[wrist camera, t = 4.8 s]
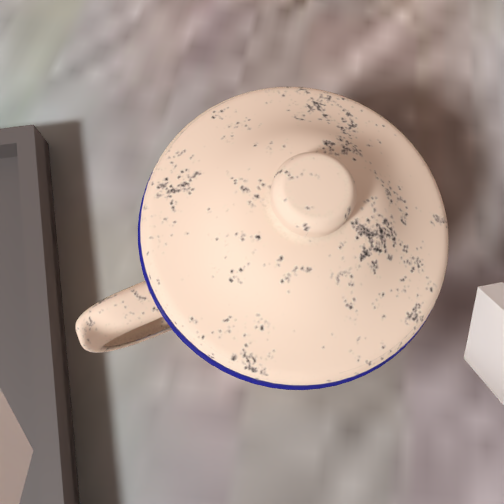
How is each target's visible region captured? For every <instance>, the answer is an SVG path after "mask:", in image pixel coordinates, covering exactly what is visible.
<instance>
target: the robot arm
mask: <svg viewBox="0 0 504 504" xmlns="http://www.w3.org/2000/svg"><path fill="white" fill-rule="evenodd" d="M464 359H465V360H466V362H467V363H468V364H469V365H470V366H471V367H472V369H473V370H474V371H475V372H476V373H477V375H478V376H479V377H480V378H481V379H482V380H483V382H484V383H485V384H486V385H487V386H488V388H489V389H490V390H491V391H492V392H493V394H494V395H495V396H496V397H497V398H498V399H499V401H500V402H501V403H502V404H503V405H504V283H503V282H500V283H495V284H490V285H484V286H479V287H478V289H477V294H476V299H475V304H474V309H473V314H472V319H471V324H470V329H469V334H468V339H467V344H466V349H465V354H464ZM32 454H33V449H32V447H31V445H30V443H29V441H28V439H27V438H26V436H25V434H24V432H23V430H22V428H21V426H20V424H19V423H18V421H17V419H16V417H15V415H14V413H13V411H12V409H11V408H10V406H9V404H8V402H7V400H6V398H5V396H4V395H3V393H2V391H1V389H0V504H19V503H20V499H21V495H22V491H23V488H24V484H25V480H26V476H27V472H28V469H29V465H30V461H31V457H32Z"/></svg>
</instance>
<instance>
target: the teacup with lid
mask: <svg viewBox="0 0 504 504" xmlns="http://www.w3.org/2000/svg"><path fill="white" fill-rule="evenodd" d="M138 247H139V255H140V262H141V266H142V270H143V275H144V278H145V281H144V282H141V283H139V284H136V285H134V286H131V287H129V288H127V289H124V290H122V291H120V292H117V293H115V294H113V295H111V296H109V297H107V298H105V299H103V300H101V301H99V302H98V303H96V304H94V305H93V306H91V307H90V308H88V309H87V310H86V311H85V312H83V313H82V314H81V315H80V317H79V318H78V320H77V322H76V333H77V336H78V338H79V341H80V344H81V345H82V347H83V348H84V349H85V350H87V351H89V352H96V353H98V352H107V351H112V350H116V349H120V348H124V347H127V346H131V345H134V344H137V343H140V342H142V341H145V340H148V339H150V338H153V337H156V336H158V335H160V334H163V333H165V332H168V331H170V330H173V331H174V332H175V333H176V335H177V336H178V337H179V338H180V339H181V340H182V341H183V342H184V343H185V344H186V345H187V346H188V347H189V348H190V349H192V350H193V351H194V352H195V353H196V354H197V355H199V356H200V357H201V358H203V359H204V360H206V361H207V362H208V363H210V364H211V365H213V366H215V367H217V368H218V369H220V370H222V371H223V372H226V373H228V374H230V375H232V376H234V377H237V378H239V379H242V380H245V381H248V382H250V383H253V384H257V385H262V386H266V387H270V388H278V389H286V390H309V389H320V388H325V387H331V386H336V385H339V384H342V383H346V382H349V381H352V380H354V379H357V378H359V377H362V376H364V375H366V374H368V373H370V372H372V371H373V370H375V369H377V368H379V367H381V366H382V365H383V364H385V363H386V362H388V361H389V360H391V359H392V358H393V357H394V356H396V355H397V354H398V353H399V352H400V351H401V350H402V349H403V348H405V347H406V345H407V344H408V343H409V342H410V341H411V340H412V339H413V338H414V337H415V335H416V334H417V333H418V331H419V330H420V329H421V327H422V326H423V325H424V323H425V321H426V319H427V318H428V316H429V314H430V313H431V311H432V308H433V307H434V304H435V302H436V300H437V298H438V295H439V293H440V290H441V287H442V284H443V281H444V277H445V272H446V268H447V261H448V252H449V235H448V224H447V218H446V212H445V207H444V204H443V201H442V197H441V194H440V191H439V189H438V186H437V184H436V181H435V179H434V177H433V175H432V173H431V171H430V169H429V167H428V166H427V164H426V162H425V161H424V159H423V158H422V156H421V155H420V153H419V152H418V151H417V150H416V148H415V147H414V146H413V144H412V143H411V142H410V141H409V140H408V139H407V138H406V137H405V136H404V134H402V133H401V132H400V131H399V130H398V129H397V128H396V127H395V126H394V125H393V124H391V123H390V122H389V121H387V120H386V119H385V118H384V117H382V116H381V115H379V114H378V113H376V112H374V111H373V110H371V109H370V108H368V107H366V106H364V105H362V104H360V103H358V102H356V101H354V100H351V99H349V98H347V97H344V96H341V95H338V94H335V93H331V92H327V91H323V90H318V89H311V88H304V87H275V88H266V89H261V90H256V91H251V92H247V93H244V94H241V95H238V96H235V97H232V98H230V99H228V100H225V101H223V102H221V103H219V104H217V105H215V106H213V107H211V108H210V109H208V110H207V111H205V112H204V113H202V114H200V115H199V116H198V117H196V118H195V119H194V120H193V121H191V122H190V123H189V124H188V125H187V126H186V127H185V128H184V129H182V130H181V131H180V132H179V133H178V134H177V136H176V137H175V138H174V139H173V140H172V142H171V143H170V144H169V145H168V147H167V148H166V150H165V151H164V152H163V154H162V155H161V157H160V159H159V160H158V162H157V164H156V166H155V168H154V170H153V172H152V173H151V176H150V178H149V181H148V183H147V185H146V188H145V192H144V195H143V198H142V202H141V208H140V213H139V222H138Z"/></svg>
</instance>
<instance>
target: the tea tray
mask: <svg viewBox="0 0 504 504" xmlns="http://www.w3.org/2000/svg"><path fill="white" fill-rule="evenodd" d="M0 389H1V391H2V393H3V395H4V396H5V398H6V400H7V402H8V404H9V406H10V408H11V409H12V411H13V413H14V415H15V417H16V419H17V421H18V423H19V424H20V426H21V428H22V430H23V432H24V434H25V436H26V438H27V439H28V441H29V443H30V445H31V447H32V449H33V454H32V457H31V461H30V465H29V469H28V472H27V476H26V480H25V484H24V488H23V491H22V495H21V499H20V503H19V504H80V501H79V490H78V478H77V467H76V456H75V444H74V433H73V421H72V410H71V399H70V387H69V376H68V364H67V353H66V342H65V330H64V319H63V307H62V296H61V285H60V273H59V262H58V250H57V239H56V228H55V216H54V205H53V193H52V182H51V170H50V159H49V148H48V143H47V141H46V140H45V139H44V138H43V136H42V135H41V134H40V132H39V131H38V130H37V128H36V127H35V126H34V125H27V126H19V127H12V128H4V129H0Z"/></svg>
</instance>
